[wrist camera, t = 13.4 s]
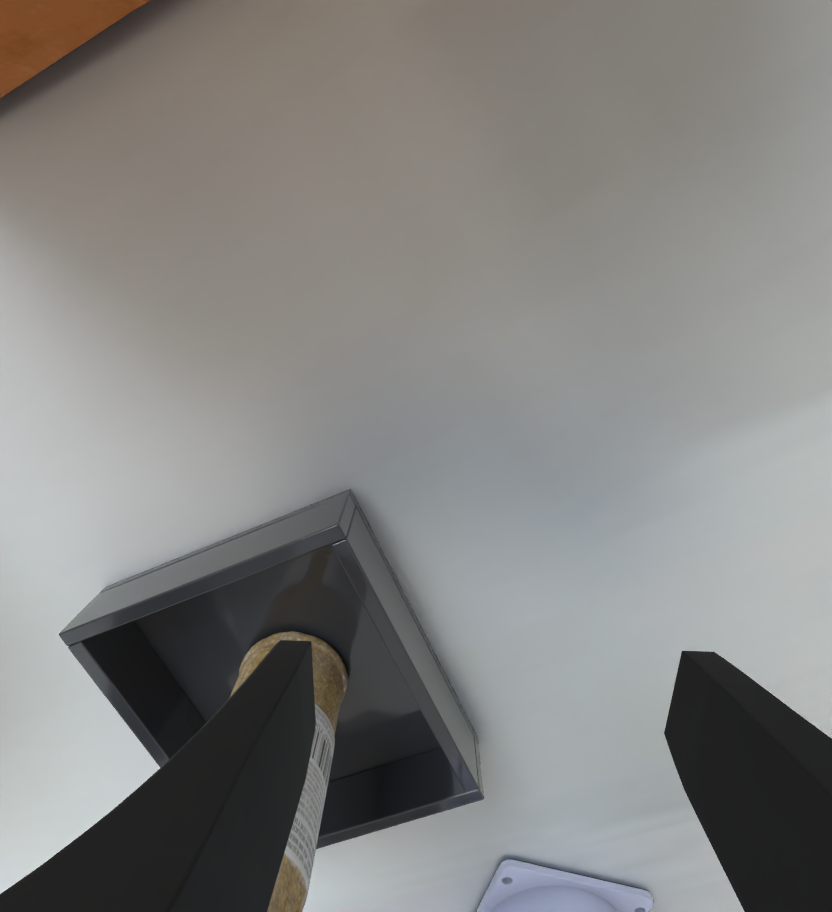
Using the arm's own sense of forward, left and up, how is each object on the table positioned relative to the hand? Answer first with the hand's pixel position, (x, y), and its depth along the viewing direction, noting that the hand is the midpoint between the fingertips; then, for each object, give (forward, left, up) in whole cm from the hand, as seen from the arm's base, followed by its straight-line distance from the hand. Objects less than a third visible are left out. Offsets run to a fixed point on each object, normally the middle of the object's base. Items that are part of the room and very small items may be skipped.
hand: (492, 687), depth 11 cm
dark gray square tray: (-10, +4, -10) cm, 15 cm away
